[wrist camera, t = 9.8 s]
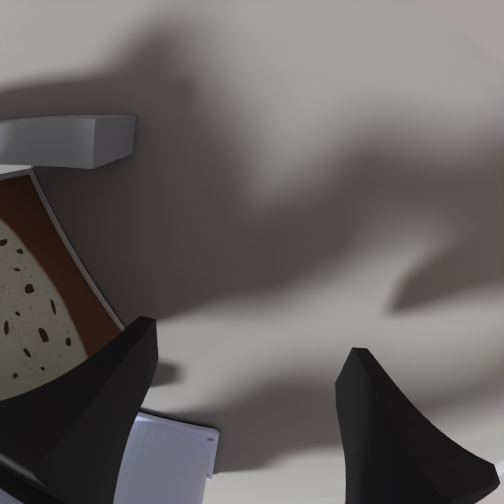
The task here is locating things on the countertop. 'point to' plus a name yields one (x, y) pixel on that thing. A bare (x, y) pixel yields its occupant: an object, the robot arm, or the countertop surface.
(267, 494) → the countertop surface
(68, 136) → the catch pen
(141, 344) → the robot arm
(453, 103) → the countertop surface
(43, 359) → the food container
